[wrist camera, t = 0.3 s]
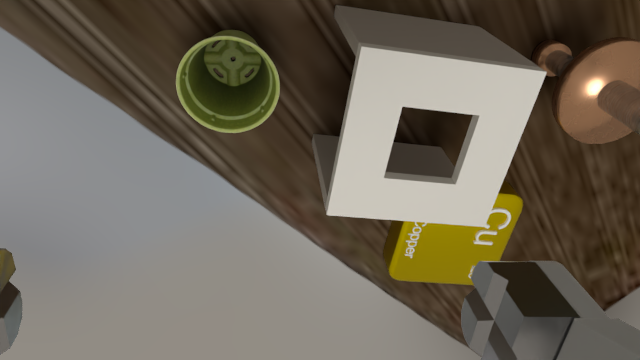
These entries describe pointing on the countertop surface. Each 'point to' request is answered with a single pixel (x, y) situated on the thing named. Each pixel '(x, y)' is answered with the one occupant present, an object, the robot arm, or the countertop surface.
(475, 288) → the robot arm
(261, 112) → the plant pot
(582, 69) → the peg
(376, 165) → the slotted white pedestal
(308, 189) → the countertop surface
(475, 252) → the element tile
